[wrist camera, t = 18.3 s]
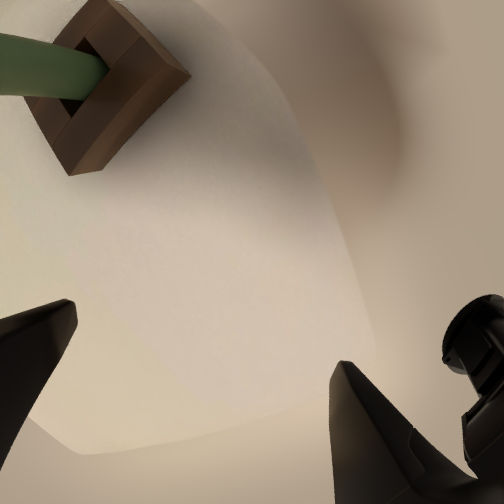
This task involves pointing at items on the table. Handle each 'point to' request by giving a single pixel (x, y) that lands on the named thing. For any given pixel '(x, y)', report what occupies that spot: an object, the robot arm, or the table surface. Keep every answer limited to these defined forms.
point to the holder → (107, 87)
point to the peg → (47, 69)
